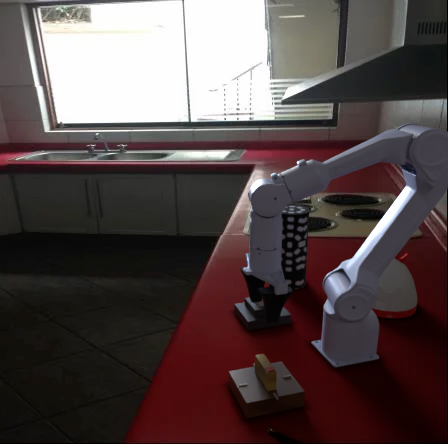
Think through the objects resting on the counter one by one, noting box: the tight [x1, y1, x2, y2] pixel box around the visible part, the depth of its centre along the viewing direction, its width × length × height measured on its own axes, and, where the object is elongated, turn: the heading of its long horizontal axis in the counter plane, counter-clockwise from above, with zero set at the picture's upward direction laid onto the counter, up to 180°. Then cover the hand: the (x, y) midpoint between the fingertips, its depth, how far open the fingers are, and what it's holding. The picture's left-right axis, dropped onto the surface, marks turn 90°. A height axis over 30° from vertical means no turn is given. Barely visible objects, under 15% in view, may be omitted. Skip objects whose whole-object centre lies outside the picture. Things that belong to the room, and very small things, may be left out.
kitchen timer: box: [372, 249, 418, 319], centre depth 95 cm, size 14×14×15 cm
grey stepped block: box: [233, 296, 292, 331], centre depth 93 cm, size 10×8×4 cm
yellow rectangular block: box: [254, 353, 277, 391], centre depth 69 cm, size 5×2×4 cm, turn 11°
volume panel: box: [228, 361, 306, 419], centre depth 70 cm, size 10×9×3 cm
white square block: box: [255, 299, 264, 307], centre depth 93 cm, size 3×3×2 cm
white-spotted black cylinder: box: [281, 204, 311, 290], centre depth 107 cm, size 8×8×20 cm
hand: (263, 311), depth 80 cm, fingers open, 7 cm apart
